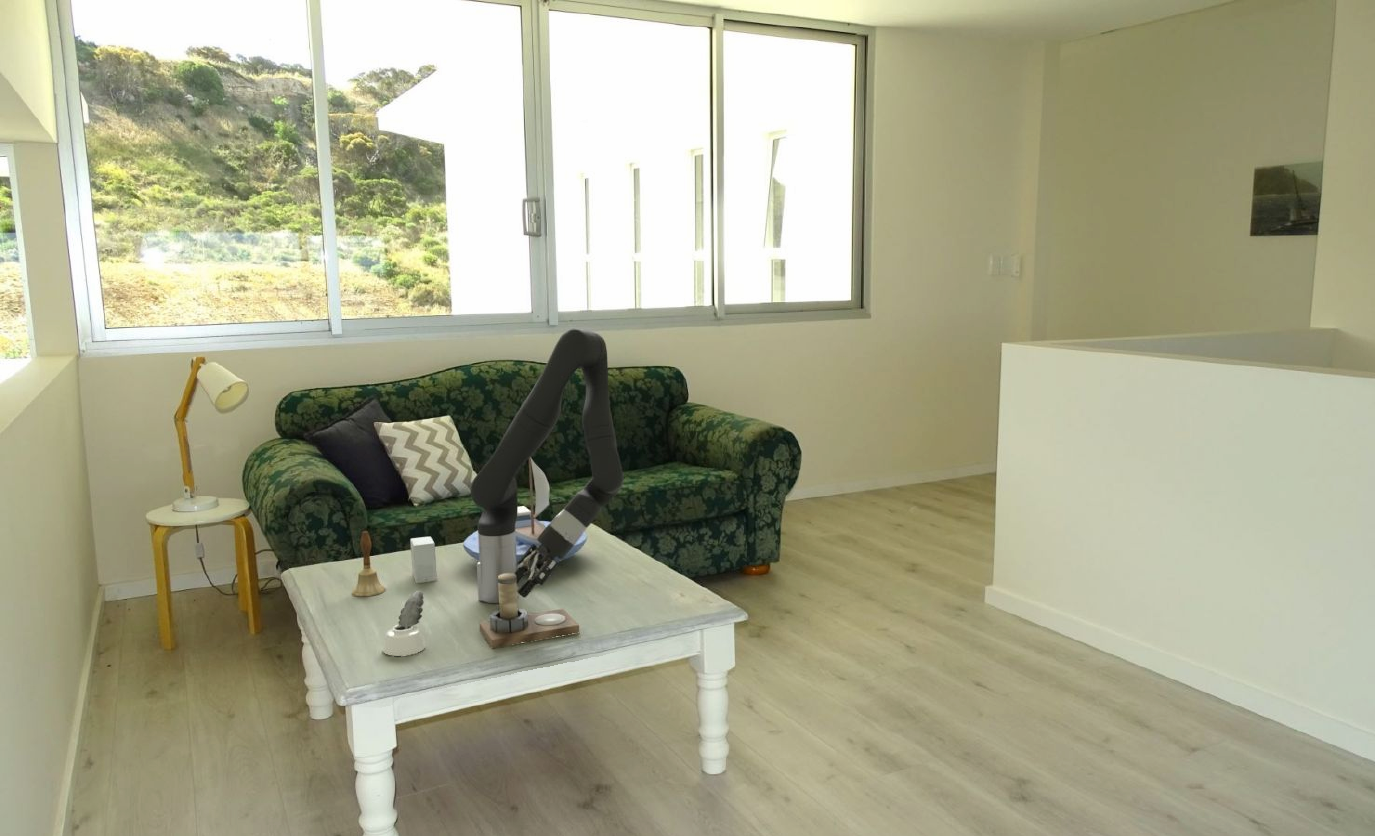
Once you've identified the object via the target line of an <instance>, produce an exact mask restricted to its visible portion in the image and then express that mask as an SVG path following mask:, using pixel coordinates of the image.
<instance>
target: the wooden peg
mask: <svg viewBox="0 0 1375 836" xmlns="http://www.w3.org/2000/svg"><path fill="white" fill-rule="evenodd" d="M516 581H517V579H516V575H515V574H512V573H506V574H501V575H499V576H498V587H499V603H498V604H499V610H500V619H512V618H516V617H518V609H519V607H518V598H517V584H516Z"/></svg>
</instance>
